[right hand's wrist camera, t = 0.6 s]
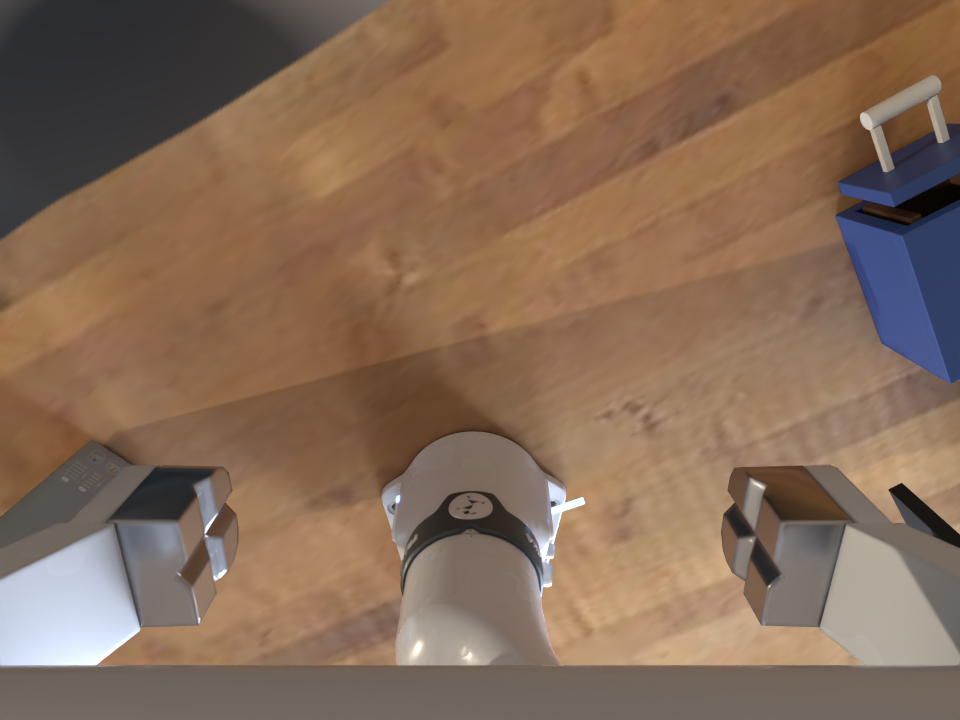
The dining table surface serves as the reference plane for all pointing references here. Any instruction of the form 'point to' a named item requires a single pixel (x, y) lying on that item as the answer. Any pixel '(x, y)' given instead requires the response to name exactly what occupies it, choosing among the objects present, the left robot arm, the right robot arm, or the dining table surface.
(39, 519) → the hard drive box
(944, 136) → the drawer
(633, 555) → the dining table surface
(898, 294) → the cabinet
